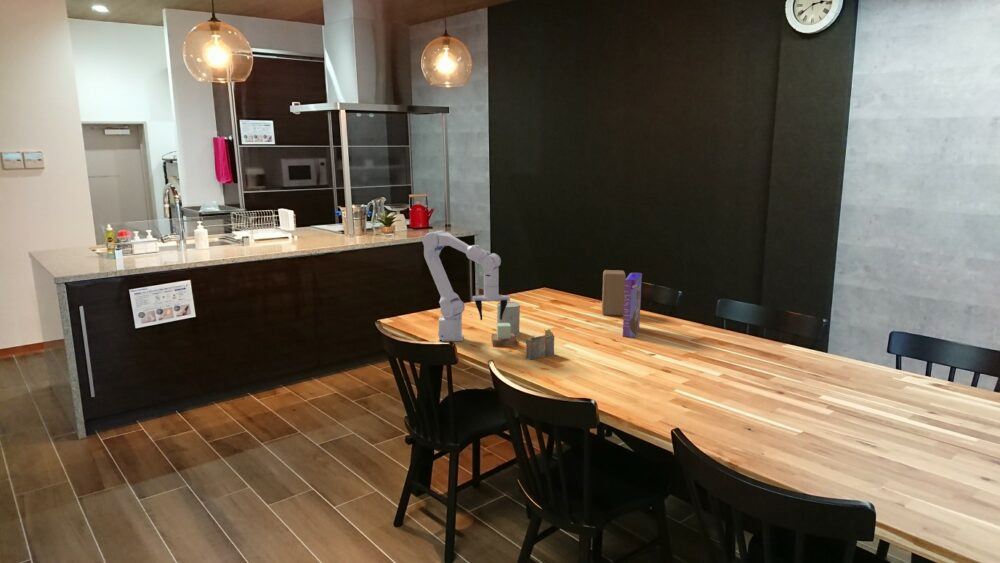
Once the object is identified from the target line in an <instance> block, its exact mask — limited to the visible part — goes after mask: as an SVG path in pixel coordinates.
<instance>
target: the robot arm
mask: <svg viewBox="0 0 1000 563" xmlns="http://www.w3.org/2000/svg"><path fill="white" fill-rule="evenodd" d="M421 242H422V245H423V256H424V259H425V262H426V264H427V266H428V269H429V272H430V274H431V276H432V278H433V279H432V280H433V281H434V284H435V285H436V289H437V291H438V293H439V295H440V299H439V301H438V303H439V306H440V313H441V316H442V317H441V316H440V317H438V332H437V334H438V341H439V340H442V341H441V342H462V341H464V334H463V321H462V320H463V312H464V311H465V309H466V308H465V307H466V306H465V303H464V301H462V300H461V298H460V296H459V294H458V293H456V292H454V289H453V287H452V285H451V283H450V280H449V278H448V275H447V273H446V270H445V269H444V266H443V264H442V260H441V258H440V254H441V251H442V249H444V247H447V246H450V247H451V248H453V249H456V250H457V251H459V252H462V253H464V254H465V256H466V258H467V259H469V260H471V261H473V262H474V263H476V264H478V265H480V266H481V267H482V269H483V294H482V295H472V298H471V300H472V301H471V302H473V303H475V306H476V308H477V310H478V313H479V318H480V319H479V320H480V321H483V310H482V309H483V304H482V302H499V303H500V320H502V316H503V313H504V310H505V308H506V306H507V302H511V295H504V294H503V295H502V294H501V295H500V294H499V288H500V287H499V279H500V278H499V277H500V276H499V274H500V272H499V267H500V266H501V263H502V259H501V257H500V255H499V254H498V253H495V252H492V253H491V251H490V250H485V249H484V248H481V246H480V244H479V245H478V244H472V245H469V244H467V243H466V242H465V241H462V240H461V239H459V238H457V237H455V236H454V235H452V234H451V233H450V232H448V231H445V230H442V229H440V230H437V231H431V232H427V233H426V234H424V237H423V239H422V241H421Z"/></svg>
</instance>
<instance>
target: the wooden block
mask: <svg viewBox="0 0 1000 563" xmlns="http://www.w3.org/2000/svg"><path fill="white" fill-rule="evenodd" d="M626 275H627V274H626V273H625V271H624V270H618V269H616V270H614V269H613V270H611V269H610V270H609V269H604V271H603V273H602V295H601V297H602V298H601V300H602V301H601V312H602V315H603V316H615V317H616V316H617V317H619V316H620V317H624V293H625V279H626V278H627V277H626Z"/></svg>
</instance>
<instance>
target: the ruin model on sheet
mask: <svg viewBox="0 0 1000 563" xmlns="http://www.w3.org/2000/svg"><path fill="white" fill-rule="evenodd" d="M544 333H545V334H544V335H540V336H535V337H531V338H530V339H528V338H527V339H526V340H525V341H526V344H525V345H526V348H525V349H526V350H525V352H526V353H525V354H526V356H525V357H526V358H525V359H527V360H530V361H533V360H537V359H540V358H545V357H549V356H553V355H555V335H554V333H553V332H552V331H551V330H550V328H548V329H544Z"/></svg>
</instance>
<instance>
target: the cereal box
mask: <svg viewBox="0 0 1000 563" xmlns="http://www.w3.org/2000/svg"><path fill="white" fill-rule="evenodd" d="M642 277H643V273H642V272H630V273H629V274H628V275H627V277H626V279H625V293H624V315H623V316H622V317H623V320H622V322H623V323H622V337H623V338H631V339H634V338H636V336H637V333H638V331H639V329H640V321H641V320H640V319H641V304H642V303H641V302H642V283H643V282H642V279H643V278H642Z"/></svg>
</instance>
